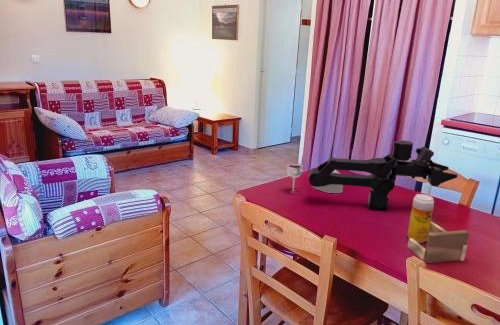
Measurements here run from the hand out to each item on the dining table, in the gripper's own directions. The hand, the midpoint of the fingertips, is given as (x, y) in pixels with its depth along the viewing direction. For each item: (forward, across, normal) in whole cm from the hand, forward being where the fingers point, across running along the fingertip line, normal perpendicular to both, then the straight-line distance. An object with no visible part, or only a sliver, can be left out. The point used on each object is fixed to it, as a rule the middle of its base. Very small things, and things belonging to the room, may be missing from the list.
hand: (452, 172), depth 142 cm
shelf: (-15, -28, +17) cm, 36 cm away
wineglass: (-58, +9, +17) cm, 61 cm away
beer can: (-16, -24, +17) cm, 34 cm away
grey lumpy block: (-43, +16, +17) cm, 49 cm away
